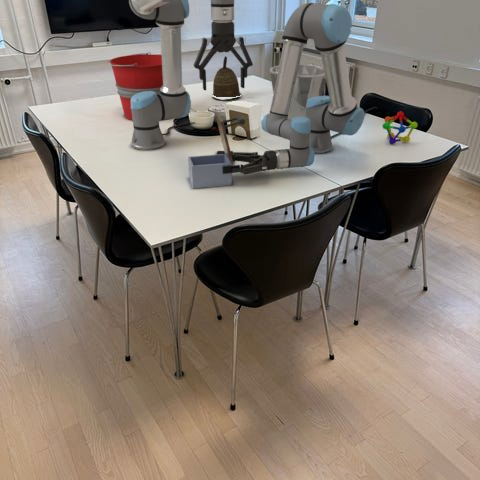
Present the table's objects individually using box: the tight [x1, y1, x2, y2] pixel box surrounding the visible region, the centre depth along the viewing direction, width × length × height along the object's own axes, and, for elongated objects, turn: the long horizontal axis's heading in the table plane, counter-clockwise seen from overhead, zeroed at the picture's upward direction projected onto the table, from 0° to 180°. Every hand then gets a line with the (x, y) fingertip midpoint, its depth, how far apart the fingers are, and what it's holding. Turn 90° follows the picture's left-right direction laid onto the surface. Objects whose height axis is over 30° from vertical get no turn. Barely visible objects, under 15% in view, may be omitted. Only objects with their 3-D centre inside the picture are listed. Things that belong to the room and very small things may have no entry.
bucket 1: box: [106, 51, 163, 121], centre depth 240 cm, size 35×35×30 cm
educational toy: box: [382, 110, 418, 145], centre depth 207 cm, size 16×13×15 cm
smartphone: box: [216, 150, 234, 164], centre depth 192 cm, size 7×1×15 cm
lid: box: [215, 112, 246, 163], centre depth 165 cm, size 16×10×9 cm
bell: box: [212, 56, 242, 97], centre depth 278 cm, size 19×26×20 cm
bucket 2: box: [269, 63, 327, 120], centre depth 226 cm, size 30×30×28 cm
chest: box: [187, 154, 233, 189], centre depth 170 cm, size 15×10×9 cm, turn 104°
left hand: (223, 88), depth 155 cm, fingers open, 13 cm apart
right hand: (220, 164), depth 170 cm, fingers closed on chest, 10 cm apart
